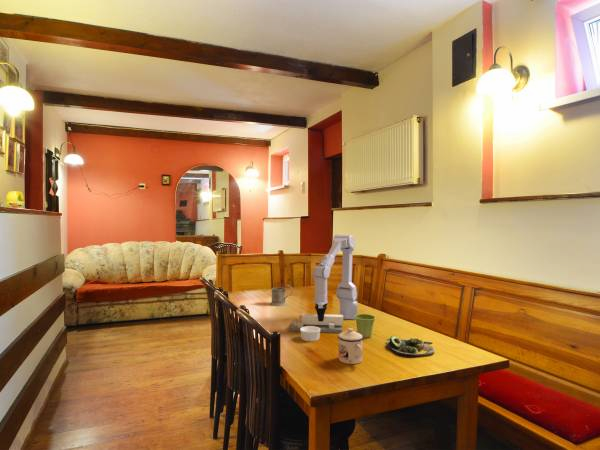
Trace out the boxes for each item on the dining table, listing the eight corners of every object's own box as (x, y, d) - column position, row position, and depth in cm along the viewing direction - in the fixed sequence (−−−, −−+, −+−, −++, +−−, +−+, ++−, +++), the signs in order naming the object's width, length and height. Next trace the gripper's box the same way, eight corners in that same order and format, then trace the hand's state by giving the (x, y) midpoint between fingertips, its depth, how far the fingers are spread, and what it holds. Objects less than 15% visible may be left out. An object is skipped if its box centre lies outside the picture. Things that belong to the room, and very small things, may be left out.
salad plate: (421, 340, 159) (421, 329, 159) (447, 355, 142) (447, 343, 142) (380, 343, 155) (380, 332, 155) (401, 359, 137) (401, 347, 137)
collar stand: (341, 325, 180) (341, 318, 180) (342, 333, 168) (342, 325, 168) (292, 323, 182) (292, 316, 182) (289, 331, 170) (289, 323, 170)
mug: (267, 305, 221) (267, 285, 221) (274, 301, 230) (274, 282, 230) (289, 307, 216) (289, 287, 215) (295, 304, 225) (296, 284, 224)
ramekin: (316, 343, 155) (316, 332, 154) (297, 340, 158) (297, 330, 158) (322, 336, 163) (322, 327, 163) (304, 334, 166) (304, 325, 166)
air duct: (342, 323, 176) (342, 314, 176) (343, 325, 172) (343, 316, 172) (299, 321, 178) (299, 313, 178) (298, 324, 174) (298, 315, 174)
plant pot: (376, 333, 167) (376, 314, 167) (373, 340, 158) (374, 320, 158) (356, 331, 170) (356, 313, 170) (352, 338, 161) (352, 318, 161)
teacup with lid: (333, 357, 138) (333, 326, 138) (354, 354, 142) (354, 324, 142) (350, 369, 127) (350, 336, 127) (372, 365, 131) (372, 332, 131)
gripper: (313, 288, 182) (313, 315, 182) (311, 294, 168) (311, 323, 168) (327, 288, 181) (327, 315, 182) (327, 294, 167) (327, 324, 167)
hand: (320, 319), depth 175 cm, fingers closed on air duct, 4 cm apart
